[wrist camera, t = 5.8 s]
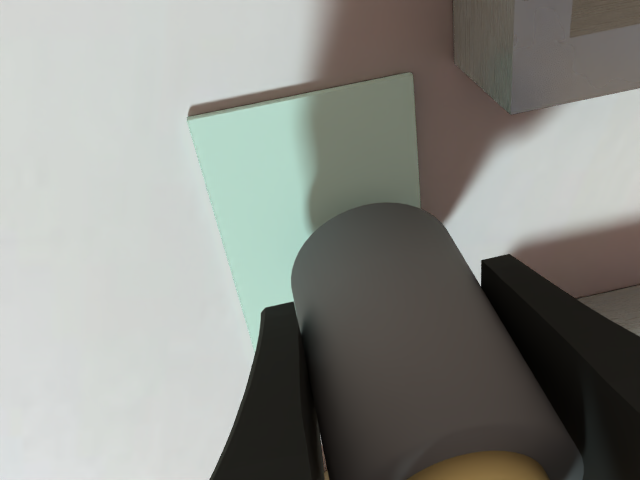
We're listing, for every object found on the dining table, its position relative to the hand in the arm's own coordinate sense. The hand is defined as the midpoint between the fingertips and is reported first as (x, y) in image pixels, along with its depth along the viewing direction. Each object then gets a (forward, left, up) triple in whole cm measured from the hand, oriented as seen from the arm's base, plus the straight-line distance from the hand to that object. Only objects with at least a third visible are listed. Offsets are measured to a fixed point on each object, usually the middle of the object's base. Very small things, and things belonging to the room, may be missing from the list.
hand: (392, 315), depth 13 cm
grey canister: (0, 0, -2) cm, 2 cm away
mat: (+1, 0, -3) cm, 3 cm away
